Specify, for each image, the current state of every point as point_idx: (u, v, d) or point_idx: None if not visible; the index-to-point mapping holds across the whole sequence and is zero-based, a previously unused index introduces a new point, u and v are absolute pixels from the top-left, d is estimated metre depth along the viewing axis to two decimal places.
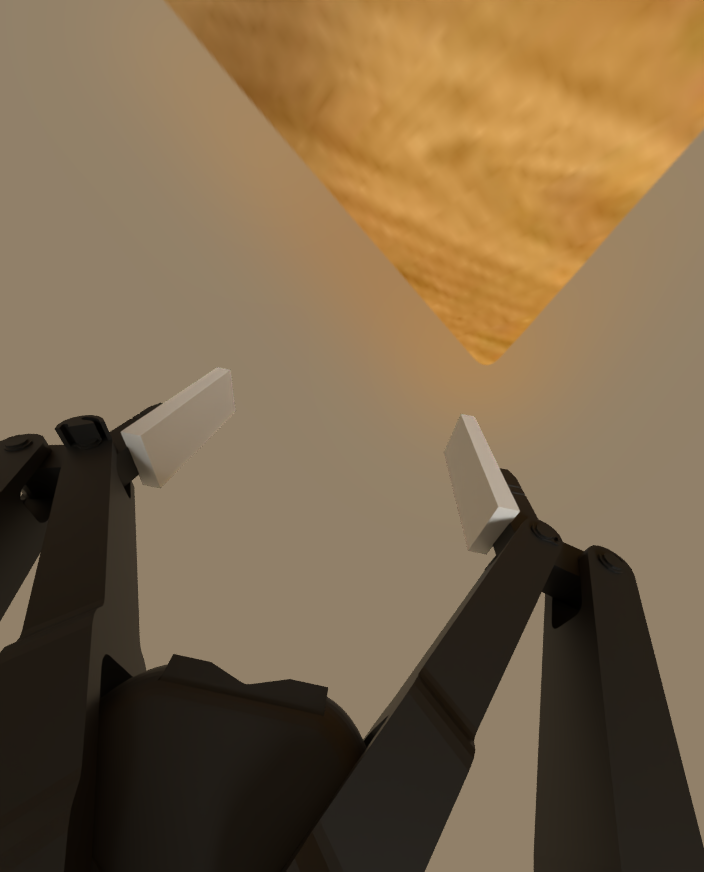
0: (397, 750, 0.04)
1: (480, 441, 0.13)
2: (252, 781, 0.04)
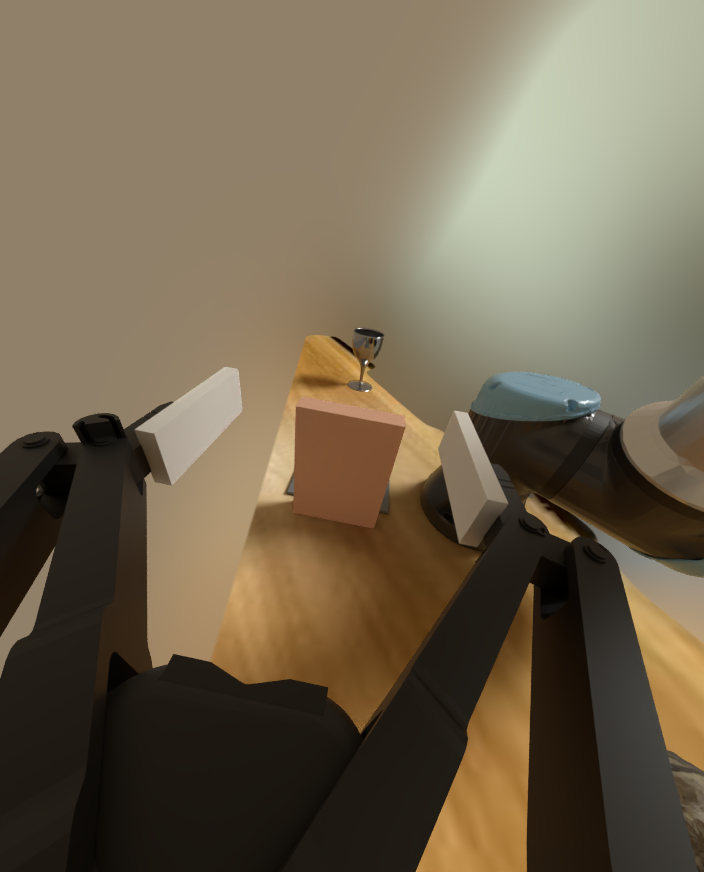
0: (392, 744, 0.04)
1: (472, 437, 0.13)
2: (252, 781, 0.04)
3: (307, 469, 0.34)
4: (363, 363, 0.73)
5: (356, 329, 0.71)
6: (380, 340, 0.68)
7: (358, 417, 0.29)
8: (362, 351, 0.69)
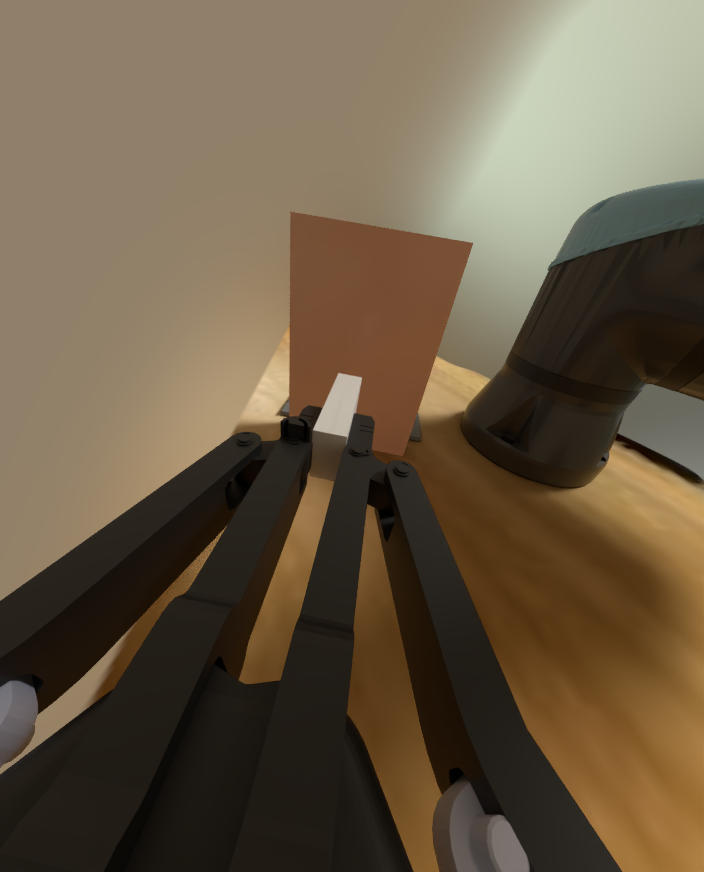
0: (297, 690, 0.05)
1: (352, 393, 0.15)
2: (252, 781, 0.04)
3: (309, 350, 0.23)
4: None
5: None
6: None
7: None
8: None
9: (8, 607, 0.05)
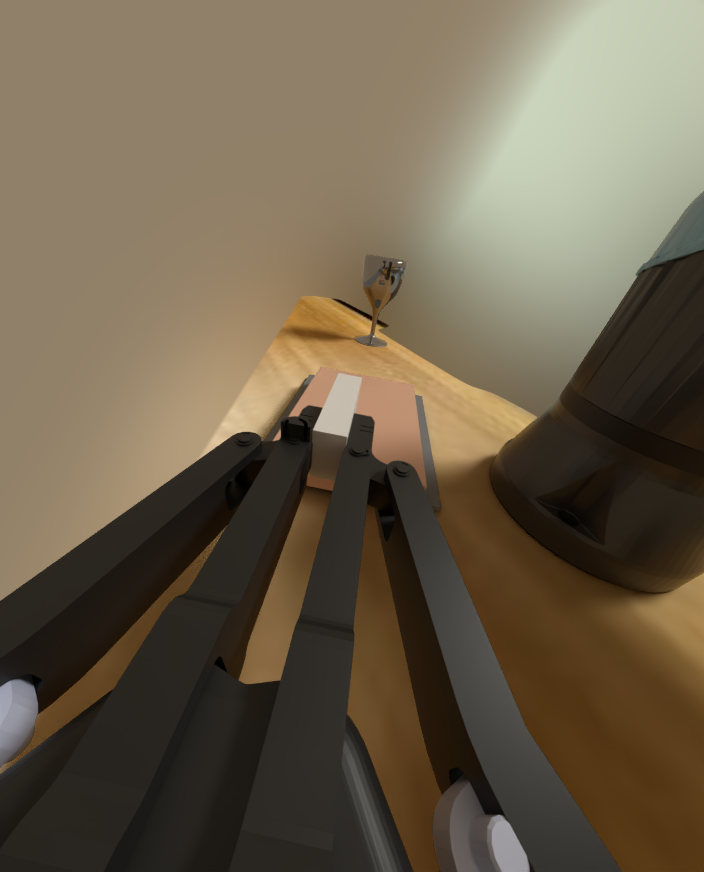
0: (297, 690, 0.05)
1: (352, 393, 0.15)
2: (252, 781, 0.04)
3: (317, 401, 0.27)
4: (376, 305, 0.53)
5: None
6: (402, 267, 0.48)
7: (373, 377, 0.34)
8: (376, 284, 0.49)
9: (8, 607, 0.05)
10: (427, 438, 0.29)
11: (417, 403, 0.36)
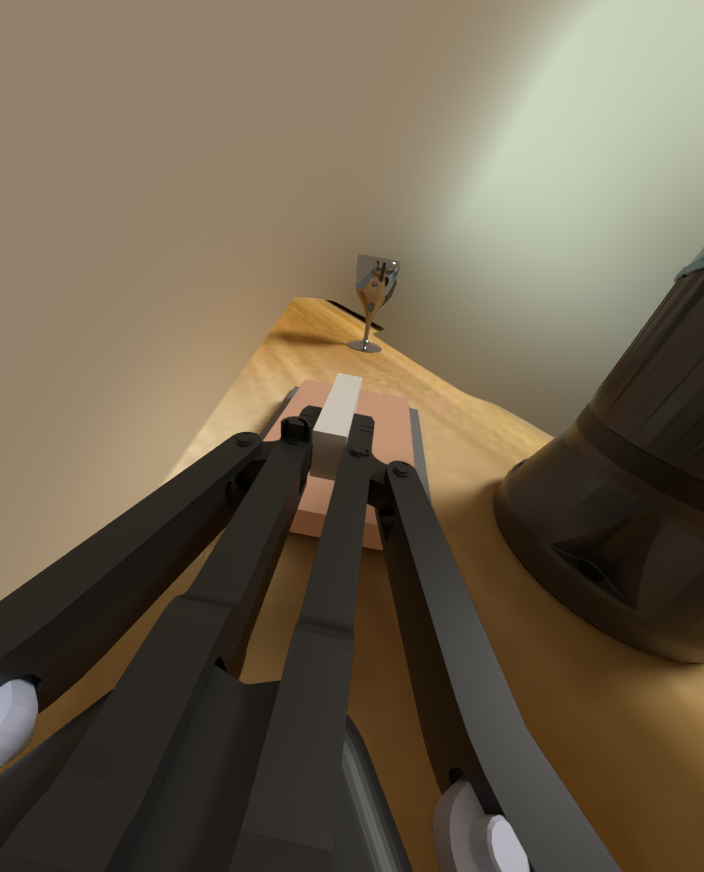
0: (297, 690, 0.05)
1: (352, 393, 0.15)
2: (252, 781, 0.04)
3: None
4: (370, 309, 0.49)
5: None
6: (396, 268, 0.45)
7: (363, 390, 0.31)
8: (369, 286, 0.45)
9: (8, 607, 0.05)
10: (423, 461, 0.26)
11: (412, 418, 0.33)
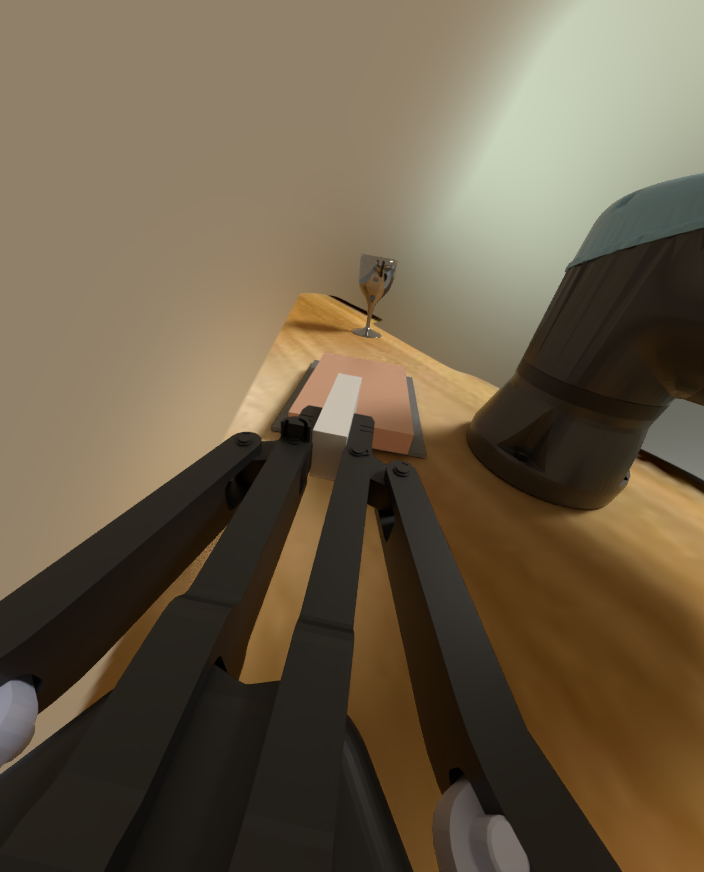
0: (297, 690, 0.05)
1: (352, 393, 0.15)
2: (252, 781, 0.04)
3: (324, 377, 0.33)
4: (371, 300, 0.58)
5: None
6: (394, 266, 0.54)
7: (370, 360, 0.40)
8: (371, 281, 0.55)
9: (8, 607, 0.05)
10: (416, 408, 0.35)
11: (408, 383, 0.42)
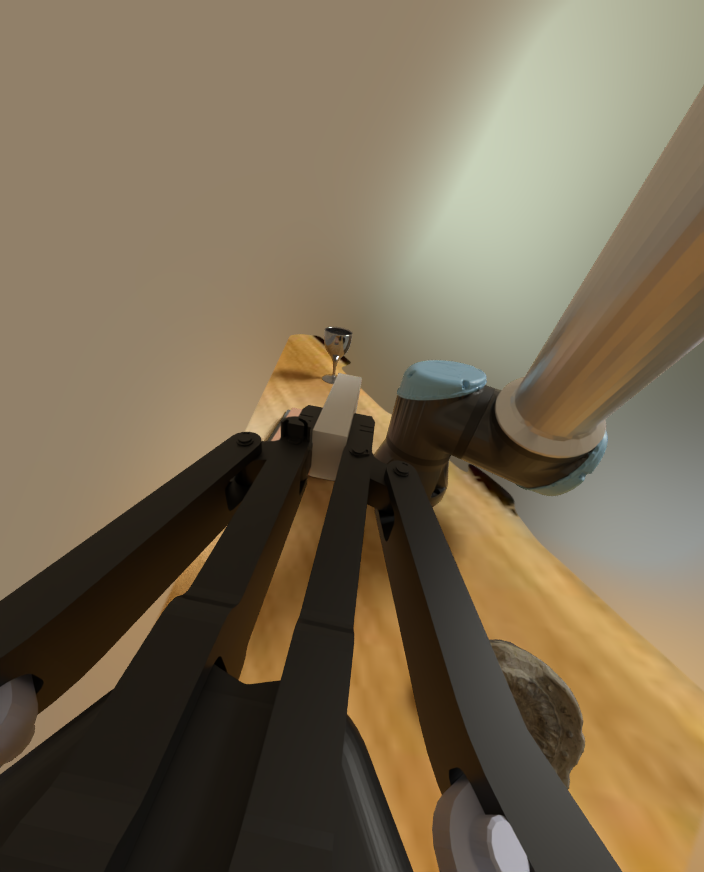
0: (297, 690, 0.05)
1: (352, 393, 0.15)
2: (252, 781, 0.04)
3: None
4: (334, 358, 0.81)
5: (328, 328, 0.80)
6: (348, 338, 0.76)
7: None
8: (332, 347, 0.77)
9: (8, 607, 0.05)
10: None
11: None
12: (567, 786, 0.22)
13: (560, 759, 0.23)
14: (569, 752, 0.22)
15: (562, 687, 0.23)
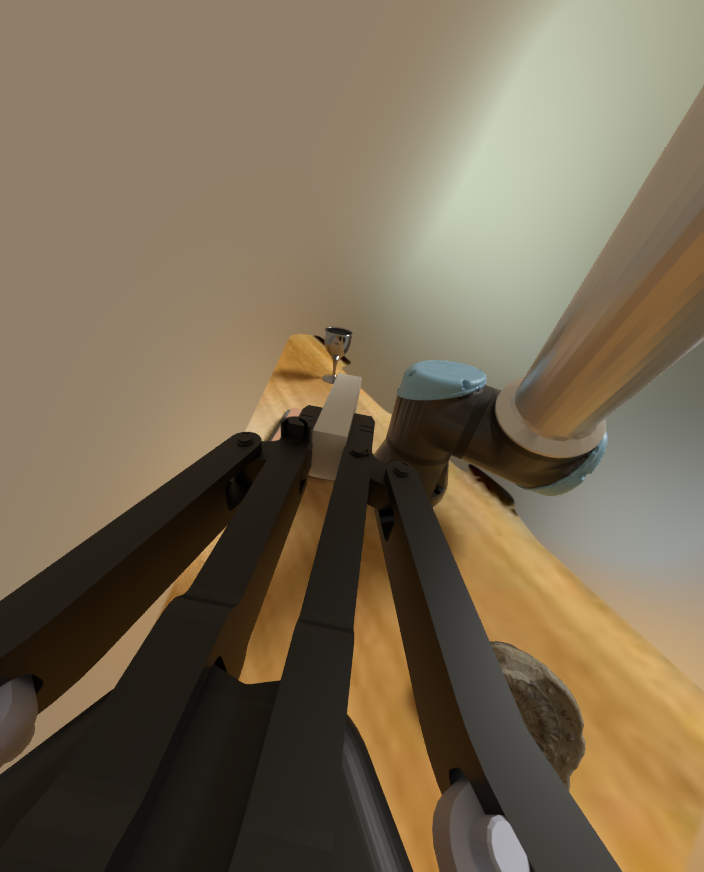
0: (297, 690, 0.05)
1: (352, 393, 0.15)
2: (252, 781, 0.04)
3: None
4: (334, 358, 0.81)
5: (328, 328, 0.80)
6: (348, 338, 0.76)
7: None
8: (332, 347, 0.77)
9: (8, 607, 0.05)
10: None
11: None
12: None
13: (560, 762, 0.22)
14: (569, 755, 0.22)
15: (562, 690, 0.23)
